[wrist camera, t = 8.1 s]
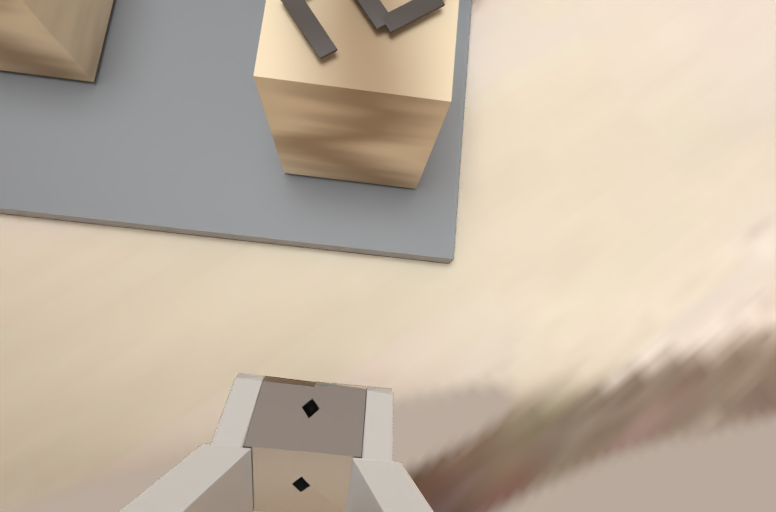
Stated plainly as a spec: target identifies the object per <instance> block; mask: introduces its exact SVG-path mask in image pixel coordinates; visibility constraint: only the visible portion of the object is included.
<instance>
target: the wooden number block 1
mask: <svg viewBox="0 0 776 512" xmlns="http://www.w3.org/2000/svg"><path fill="white" fill-rule="evenodd" d="M112 4H113V0H0V70H3V71H11V72H19V73H27V74H35V75H43V76H50V77H58V78H66V79H74V80H82V81H90V82H94V79H95V75H96V71H97V67H98V63H99V58H100V54H101V50H102V46H103V42H104V38H105V34H106V29H107V25H108V21H109V17H110V13H111V9H112Z"/></svg>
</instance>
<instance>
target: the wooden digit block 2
mask: <svg viewBox="0 0 776 512" xmlns="http://www.w3.org/2000/svg"><path fill="white" fill-rule="evenodd" d="M458 8H459V0H266V3H265V9H264V15H263V21H262V27H261V33H260V39H259V45H258V51H257V57H256V63H255V69H254V75H253V77H254V80H255V83H256V86H257V89H258V92H259V96H260V99H261V102H262V105H263V108H264V111H265V115H266V118H267V121H268V124H269V127H270V130H271V134H272V137H273V140H274V143H275V146H276V149H277V152H278V156H279V159H280V162H281V165H282V168H283V171H284V173H289V174H297V175H305V176H314V177H322V178H330V179H339V180H347V181H355V182H364V183H372V184H381V185H389V186H397V187H406V188H414V189H416V188H417V186H418V183H419V181H420V178H421V176H422V173H423V171H424V168H425V166H426V163H427V161H428V158H429V156H430V153H431V151H432V148H433V146H434V143H435V141H436V138H437V136H438V133H439V131H440V129H441V126H442V124H443V121H444V119H445V116H446V114H447V111H448V109H449V106H450V104H451V99H452V86H453V73H454V60H455V47H456V34H457V21H458Z"/></svg>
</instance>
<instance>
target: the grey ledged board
mask: <svg viewBox="0 0 776 512" xmlns="http://www.w3.org/2000/svg"><path fill="white" fill-rule="evenodd" d="M265 3H266V0H113V4H112V9H111V13H110V17H109V21H108V25H107V29H106V34H105V38H104V42H103V46H102V50H101V54H100V58H99V63H98V67H97V71H96V75H95V79H94V82H90V81H82V80H74V79H66V78H58V77H50V76H43V75H35V74H27V73H19V72H11V71H3V70H0V213H3V214H12V215H21V216H30V217H39V218H48V219H57V220H66V221H75V222H84V223H93V224H102V225H110V226H119V227H128V228H137V229H146V230H155V231H164V232H173V233H182V234H191V235H200V236H209V237H218V238H227V239H236V240H245V241H254V242H263V243H272V244H281V245H290V246H298V247H307V248H316V249H325V250H334V251H343V252H352V253H361V254H370V255H379V256H388V257H397V258H406V259H415V260H424V261H433V262H442V263H450V262H451V261H452V260H453V259H454V246H455V232H456V218H457V204H458V189H459V175H460V161H461V147H462V133H463V119H464V105H465V91H466V77H467V63H468V49H469V35H470V20H471V6H472V0H459V8H458V21H457V34H456V47H455V60H454V73H453V86H452V99H451V104H450V106H449V109H448V111H447V114H446V116H445V119H444V121H443V124H442V126H441V129H440V131H439V133H438V136H437V138H436V141H435V143H434V146H433V148H432V151H431V153H430V156H429V158H428V161H427V163H426V166H425V168H424V171H423V173H422V176H421V178H420V181H419V183H418V186H417V188H416V189H414V188H406V187H397V186H389V185H381V184H372V183H364V182H355V181H347V180H339V179H330V178H322V177H314V176H305V175H297V174H289V173H284V171H283V168H282V165H281V162H280V159H279V156H278V152H277V149H276V146H275V143H274V140H273V137H272V134H271V130H270V127H269V124H268V121H267V118H266V115H265V111H264V108H263V105H262V102H261V99H260V96H259V92H258V89H257V86H256V83H255V80H254V77H253V75H254V69H255V63H256V57H257V51H258V45H259V39H260V33H261V27H262V21H263V15H264V9H265Z"/></svg>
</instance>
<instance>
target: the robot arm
mask: <svg viewBox="0 0 776 512" xmlns="http://www.w3.org/2000/svg"><path fill="white" fill-rule="evenodd" d="M393 401H394V393H393V390H392V389H391V388H380V387H369V386H367V388H366V386H360V385H349V384H337V383H326V382H310V381H302V380H294V379H286V378H278V377H270V376H259V375H250V374H242V373H239V374H238V375H237V377H236V378H235V379H234V382H233V385H232V387H231V390H230V393H229V396H228V398H227V401H226V404H225V407H224V409H223V412H222V415H221V417H220V420H219V423H218V426H217V428H216V431H215V434H214V437H213V439H212V442H211V444H202V445H200V446H199V447H198V448H197V449H196V450H194V451H193V452H192V453H191V454H189V455H188V456H187V457H186V458H184V459H183V460H182V461H181V462H179V463H178V464H177V465H176V466H174V467H173V468H172V469H171V470H170V471H168V472H167V473H166V474H165V475H163V476H162V477H161V478H160V479H158V480H157V481H156V482H155V483H153V484H152V485H151V486H150V487H148V488H147V489H146V490H145V491H144V492H142V493H141V494H140V495H139V496H137V497H136V498H135V499H134V500H132V501H131V502H130V503H129V504H127V505H126V506H125V507H124V508H122V509H121V510H120V511H119V512H253V511H256V512H434V511H433V510H432V508H431V507H430V505H429V504H428V502H427V501H426V499H425V498H424V496H423V495H422V493H421V492H420V490H419V489H418V487H417V486H416V484H415V483H414V481H413V480H412V478H411V477H410V475H409V474H408V472H407V471H406V469H405V468H404V466H403V465H402V463H401V462H395V461H393Z"/></svg>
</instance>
